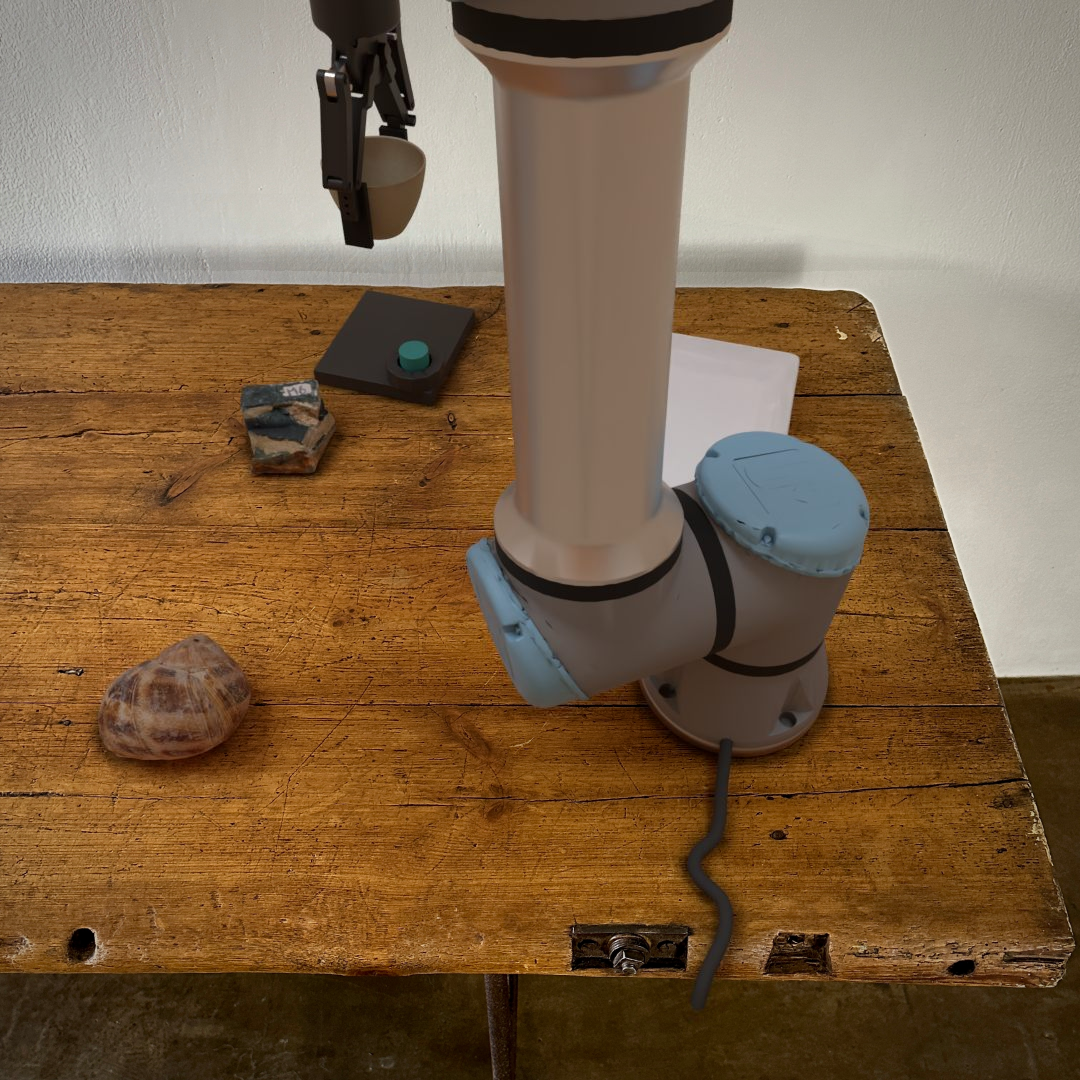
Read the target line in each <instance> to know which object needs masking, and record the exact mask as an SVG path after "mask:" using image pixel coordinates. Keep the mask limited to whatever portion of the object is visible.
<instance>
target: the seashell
mask: <svg viewBox="0 0 1080 1080" xmlns="http://www.w3.org/2000/svg"><path fill="white" fill-rule="evenodd" d="M251 692H252V691H251V687H250V683H249V681H248V678H247V676H246V673H245V672H244V671H243V669H242V668H241V666H240V665H239V663H238V662H237V661H236V660H235V659H233V657H231V656H230V655H229V654H228V653H227V652H226V651H225V650H224V648H223V647H222V646H221V645H220V644H219V643H217V642H216V641H215V640H213V639H212V638H211V637H210V636H208V635H206V634H204V633H195V634H193V635H191V636H187V637H185V638H184V639H182V640H180V641H177V642H175V643H172V644H170V645H169V646H167V647H165V648H164V649H162V650H161V652H160V653H159V654H158V656H157V657H156V658H152V659H147V660H144V661H142V662H140V663H138V664H135V665H134V666H131V667H129V668H127V669H126V670H124V671H123V672H122V673H121V674H120V675H118V676H117V677H116V678H115V679H113V680H112V681H111V683H110V684H109V686H108V687H107V689H106V691H105V693H103V696H102V697H101V702H100V704H99V708H98V714H97V724H98V729H99V736H100V739H101V741H102V743H103V745H104V746H105V748H106V750H107V751H110V752H112V753H113V754H114V755H115V756H116V757H119V758H131V759H137V760H141V761H145V760H146V761H149V760H151V761H158V760H172V761H173V760H179V759H186V758H189V757H194V756H198V755H200V754H203V753H205V752H208V751H210V750H212V749H213V748H215V747H217V746H218V745H220V744H222V743H224V742H226V741H227V740H229V738H230V736H231V735H232V734H233V733H234V731H235V730H237V729H238V726H239V725H240V723H242V721H243V719H244V718H245V716H246V714H247V711H248V709H249V707H250V702H251V698H252V697H251V696H252V693H251Z"/></svg>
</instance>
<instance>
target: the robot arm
mask: <svg viewBox="0 0 1080 1080" xmlns="http://www.w3.org/2000/svg"><path fill="white" fill-rule="evenodd" d="M308 1H309V7H310V13H311V20H312V24H313V25H314V27H316V28H317V29H318V30H319V31H320V32H321V33H323V34H324V35H325V36H326V37H328V39H330V42H331V54H330V55H331V57H330V60H331V61H330V62H331V63H330V67H329V69H322V68H318V69H317V70H316V73H315V81H316V88H317V92H318V98H319V116H320V117H319V121H320V152H321V153H320V154H321V156H320V157H321V158H322V170H321V185H322V188H323V189H324V190H328V189H329V190H335V191H337V193H338V200H339V207H340V210H339V213H340V219H341V226H342V233H343V241H344V246H350V247H354V248H355V247H356V248H361V249H368V250H372V249H373V248H374V246H375V240H374V239H373V231H372V223H371V215H370V207H369V199H368V191H367V183H365V182H361V180H362V168H363V156H364V143H365V136H366V132H367V131H366V129H367V117H368V110H370V109H371V108H372V107H373V105H375V107H376V108H375V109H376V110H377V112H378V115H379V117H380V119H381V121H382V123H386V125H384V124H381V125H380V126H379V127H378V136H391V137H397V138H401V139H404V140H407V141H409V137H408V135H409V134H408V128H406V127H411V128H414V127H416V124H417V115H416V114H412V113H409V111H410V112H414V110H415V107H416V101H415V97H414V91H413V86H412V83H411V82H412V81H411V78H410V73H409V68H408V63H407V58H406V53H405V49H404V48H405V47H404V44H403V38H402V21H401V20H402V19H401V18H402V11H401V3H400V2H401V1H400V0H308ZM445 1H447V2H449V3H450V7H451V19H452V23H451V24H452V31H453V35H454V37H455V39H456V40H457V42H459V43H460V44H461V45H462V46H463V48H465V50H467V51H468V52H469V53H470V54H471V55H472V56H473V57H474V58H476V59H477V60H478V61H479V62H480V63H481V64H482V65H483V66H484V67H485V68H486V69H487V71H488V72H489V74H490V75H491V80H492V96H493V113H494V130H495V131H494V132H495V147H496V148H495V149H496V166H497V180H498V197H499V216H500V217H499V218H500V232H501V233H500V234H501V250H502V265H503V267H502V269H503V282H504V283H503V285H504V301H505V317H506V333H507V335H506V336H507V352H508V366H509V367H508V369H509V387H510V401H511V403H510V405H511V416H512V417H511V419H512V420H511V421H512V436H513V438H512V439H513V454H514V455H513V456H514V470H515V471H514V472H515V473H514V474H515V479H514V480H512V481H511V482H510V483H509V484H508V485H507V487H505V488H504V490H503V491H502V493H501V494H500V496H499V497H498V499H497V501H496V504H495V507H494V511H493V523H492V525H493V534H494V535H493V536H494V537H492V538H490V537H488V536H487V537H484V538H480V540H479V541H478V542H476V543H474V544H472V545H470V547H468V549H467V551H466V553H465V563H466V568H467V572H468V576H469V579H470V582H471V586H472V590H473V591H474V594H475V598H476V600H477V604H478V606H479V608H480V611H481V614H482V617H483V619H484V622H485V624H486V626H487V628H488V631H489V634H490V636H491V640H492V642H493V644H494V646H495V648H496V651H497V653H498V655H499V658H500V660H501V662H502V664H503V666H504V668H505V670H506V673H507V674H508V676H509V678H510V680H511V682H512V684H513V686H514V688H515V690H516V691H517V693H518V694H519V695H520V697H521V699H523V700H524V701H525V702H526V703H528V704H529V705H531V706H533V707H535V708H539V709H550V708H554V707H557V706H560V705H564V704H569V703H571V702H575V701H579V700H580V701H583V702H585V701H587V700H589V699H591V697H593V696H596V695H599V694H602V693H605V692H608V691H611V690H613V689H617V688H619V687H622V686H624V685H628V684H631V683H633V682H636V681H638V683H639V688H640V690H641V693H642V695H643V698H644V700H645V701H646V703H647V706H648V707H649V708H650V710H651V712H652V713H653V714H654V716H655V717H656V718H657V719H658V720H659V721H660V722H661V723H662V724H663V725H664V727H666V728H667V729H668V730H669V731H670V732H671V733H673V734H674V735H675V736H677V737H678V738H679V739H682V740H683V741H685V742H687V743H688V744H690V745H693V746H695V747H697V748H699V749H702V750H704V751H707V752H710V753H713V754H716V755H718V757H717V765H716V766H717V767H716V774H715V782H714V794H713V795H714V797H713V799H714V800H713V816H712V822H711V825H710V827H709V831H708V833H707V834H706V836H705V837H703V839H701V840H699V842H698V843H696V844H695V845H694V846H693V847H692V848H691V850H690V851H689V854H688V857H687V872H688V875H689V877H690V879H691V880H692V882H693V883H694V884H695V885H696V886H697V887H698V889H700V890H701V892H703V893H704V894H705V895H706V896H708V898H710V899H711V900H712V901H713V903H714V904H715V906H716V907H717V908H716V909H717V912H718V928H717V932H716V934H715V937H714V939H713V941H712V944H711V946H710V947H709V950H708V952H707V954H706V955H705V957H704V960H703V961H702V964H701V965H700V967H699V971H698V973H697V976H696V979H695V982H694V985H693V989H692V992H691V995H690V1005H691V1007H692V1009H693V1010H695V1011H697V1012H700V1011H702V1010H704V1008H705V1006H706V1003H707V999H708V996H709V992H710V989H711V985H712V982H713V980H714V978H715V975H716V973H717V971H718V969H719V966H720V965H721V963H722V960H723V958H724V957H725V955H726V952H727V950H728V948H729V945H730V942H731V939H732V935H733V929H734V911H733V907H732V903H731V900H730V898H729V896H728V895H727V893H726V892H725V891H724V890H723V888H721V886H719V885H718V884H717V883H716V882H714V881H713V880H712V879H711V878H710V877H709V876H708V875H707V873H705V871H704V870H703V868H702V861H703V859H704V858H705V857H706V856H707V855H709V854H710V853H711V852H712V851H713V850H714V849H715V848H716V847H717V846H718V845H719V844H720V842H721V840H722V838H723V836H724V833H725V829H726V825H727V819H728V818H727V817H728V795H729V782H730V773H731V763H732V757H735V758H736V757H737V758H751V757H759V756H765V755H769V754H773V753H776V752H778V751H781V750H784V749H785V748H788V747H790V746H791V745H793V744H794V743H796V742H798V741H799V740H800V739H801V738H802V737H804V736H805V734H807V732H808V731H810V729H811V728H812V726H813V725H814V724H815V722H816V721H817V718H818V717H819V714H820V712H821V710H822V708H823V705H824V703H825V700H826V697H827V692H828V687H829V686H828V685H829V675H830V673H829V663H828V656H827V655H828V654H827V647H826V639H825V638H826V635H827V634H828V632H829V629H830V627H831V625H832V622H833V620H834V617H835V616H836V613H837V611H838V608H839V606H840V605H841V604H840V603H841V601H842V599H843V597H844V595H845V592H846V590H847V588H848V586H849V583H850V582H851V581H850V580H851V578H852V576H853V574H854V571H855V570H856V568H857V567H858V566H859V565H860V562H861V559H862V558H863V554H864V553H863V552H864V543H865V541H866V537H867V535H868V531H869V527H870V521H871V516H870V515H871V513H870V511H871V510H870V507H869V506H870V505H869V502H868V499H867V496H866V494H865V492H864V491H865V490H864V489H863V487H862V485H861V484H860V482H859V481H858V480H857V477H856V476H855V475H854V474H853V473H852V472H851V471H850V470H849V468H848V467H846V465H844V464H843V463H842V462H841V461H840V460H839V459H838V458H837V457H835V456H833V455H832V454H830V453H829V452H828V451H826V450H825V449H823V448H821V447H820V446H817V445H815V444H813V443H808V442H805V441H802V440H800V439H799V438H798V437H795V436H792V435H789V434H788V435H784V434H780V433H774V432H765V431H752V432H742V433H737V434H733V435H730V436H727V437H725V438H723V439H721V440H719V441H717V442H716V443H715V444H713V445H712V446H711V447H710V448H709V449H708V450H707V452H706V454H705V456H704V457H703V459H702V460H701V461H700V462H699V463H698V464H697V466H696V470H695V475H694V477H695V480H693V481H691V482H689V483H685V484H682V485H678V486H675V487H672V488H670V487H669V486H668V485H667V484H666V483H665V482H664V481H663V480H662V472H663V458H664V444H665V430H666V415H667V401H668V387H669V373H670V359H671V345H672V333H673V329H674V314H675V300H676V287H677V273H678V262H679V261H678V259H679V258H678V257H679V245H680V234H681V233H680V232H681V231H680V230H681V218H682V217H681V216H682V202H683V190H684V176H685V161H686V146H687V134H688V119H689V118H688V117H689V106H690V92H691V76H692V72H693V70H694V68H695V67H696V65H698V63H699V62H700V61H702V59H704V58H705V57H706V56H707V54H709V53H710V52H711V51H712V50H713V49H714V48H715V47H716V46H717V45H718V44H719V43H720V42H721V41H722V40H723V39H724V38H725V37H726V36H727V35H728V34H729V32H730V29H731V25H732V20H733V10H734V2H735V1H734V0H445ZM352 94H357V95H362V96H353V95H352ZM402 95H403V96H402ZM321 158H320V159H321ZM329 190H328V191H329Z"/></svg>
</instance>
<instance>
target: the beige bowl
mask: <svg viewBox="0 0 1080 1080" xmlns="http://www.w3.org/2000/svg"><path fill="white" fill-rule="evenodd" d="M319 164H320V169H321V171H322V158H320V161H319ZM426 169H427V157H426V153H425V152H424V151H423V150H422V148H420V146H418V145H416V144H415V143H413V142H411V141H409V140H408V141H407V140H404V139H401V138H397V137H391V136H379V135H365V143H364V156H363V168H362V180H361V182H365V183H367V191H368V199H369V207H370V215H371V223H372V231H373V239H374V241H385V240H391V239H393V238H396V237H398V236H399V235H401V234H402V233H403V232H404V231H405V229H406V228H407V227H408V225H409V223H410V222H411V220H412V218H413V216H414V214H415V212H416V209H417V206H418V204H419V202H420V199H421V195H422V191H423V188H424V183H425V176H426ZM327 190H328V191H329V194H330V196H331V198H332V200H333V202H334V204H335V205H336V208H337V209H338V210H339V211H340V207H339V200H338V193H337V191H335V190H329V189H327Z"/></svg>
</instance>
